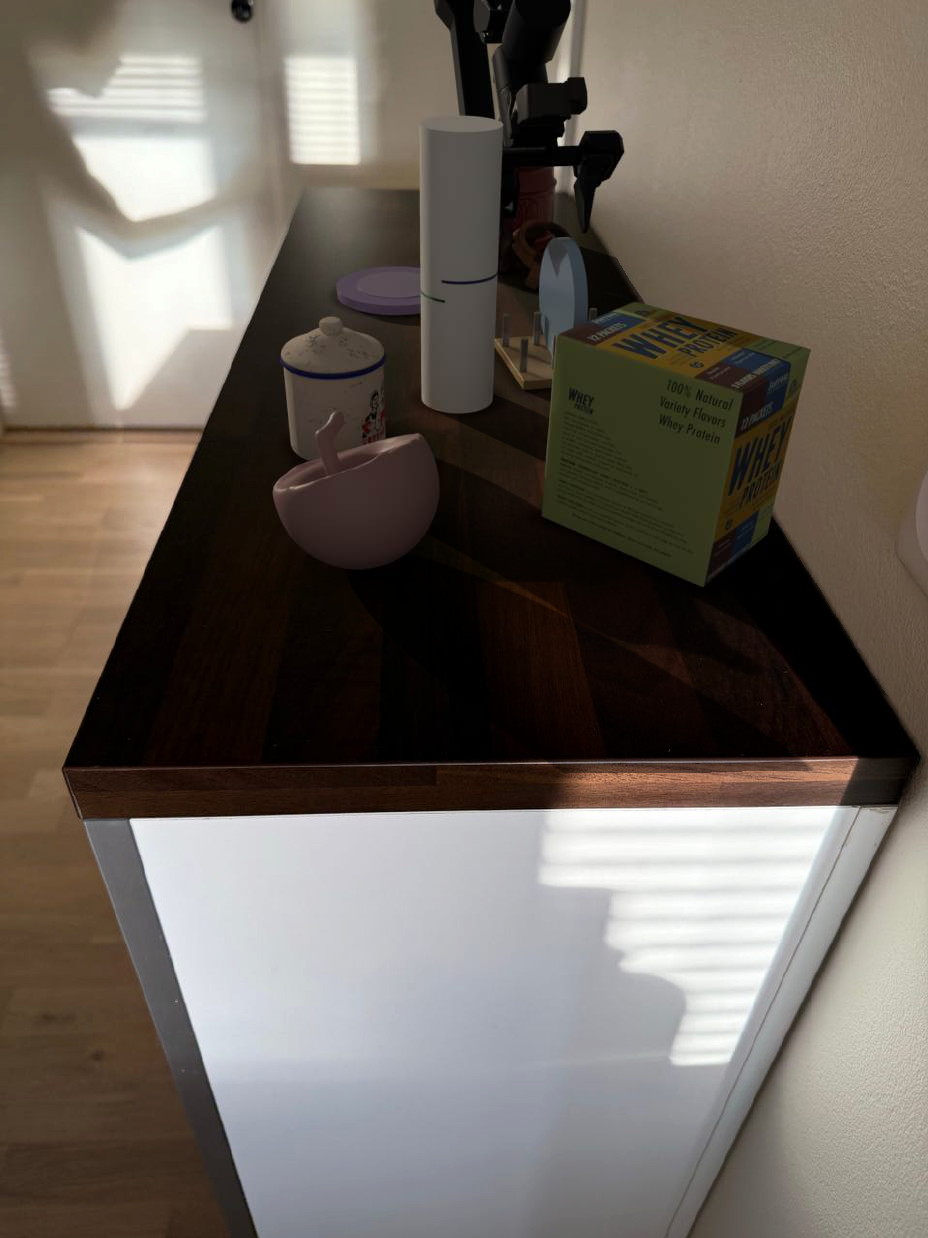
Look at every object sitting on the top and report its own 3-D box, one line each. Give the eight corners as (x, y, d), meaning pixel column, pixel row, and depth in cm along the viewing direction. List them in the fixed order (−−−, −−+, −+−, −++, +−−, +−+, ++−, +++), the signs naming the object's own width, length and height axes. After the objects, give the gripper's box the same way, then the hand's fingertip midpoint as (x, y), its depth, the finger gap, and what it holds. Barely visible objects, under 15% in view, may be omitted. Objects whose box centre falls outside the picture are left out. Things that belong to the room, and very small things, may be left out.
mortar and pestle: (359, 500, 82) (352, 369, 75) (471, 551, 76) (474, 414, 69) (248, 560, 74) (229, 421, 67) (362, 622, 68) (354, 476, 61)
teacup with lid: (385, 469, 86) (381, 340, 79) (282, 467, 86) (268, 338, 79) (392, 410, 96) (389, 291, 89) (299, 409, 96) (289, 289, 89)
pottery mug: (559, 268, 134) (581, 221, 127) (555, 320, 130) (578, 275, 123) (475, 244, 132) (492, 195, 125) (468, 296, 127) (486, 249, 120)
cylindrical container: (485, 416, 95) (495, 134, 80) (414, 409, 96) (410, 128, 81) (498, 387, 101) (509, 118, 86) (430, 380, 102) (429, 113, 87)
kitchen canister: (449, 234, 145) (450, 101, 134) (528, 226, 149) (535, 96, 138) (485, 259, 135) (489, 118, 125) (568, 250, 139) (579, 112, 129)
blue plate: (536, 335, 110) (542, 223, 103) (547, 334, 110) (555, 223, 103) (568, 377, 101) (579, 258, 93) (581, 376, 101) (593, 257, 94)
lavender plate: (354, 271, 130) (354, 261, 129) (465, 279, 128) (466, 269, 127) (321, 309, 118) (321, 299, 117) (444, 319, 116) (444, 308, 115)
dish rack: (494, 346, 110) (495, 306, 107) (587, 340, 112) (591, 300, 109) (523, 390, 100) (525, 347, 98) (624, 382, 102) (629, 340, 100)
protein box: (705, 590, 72) (745, 392, 63) (538, 517, 80) (552, 332, 71) (770, 534, 78) (816, 347, 69) (610, 472, 86) (631, 296, 77)
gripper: (450, 44, 96) (472, 195, 95) (630, 43, 100) (654, 188, 98) (434, 115, 107) (453, 251, 105) (597, 112, 110) (618, 243, 109)
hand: (544, 233), depth 104 cm, fingers open, 9 cm apart
